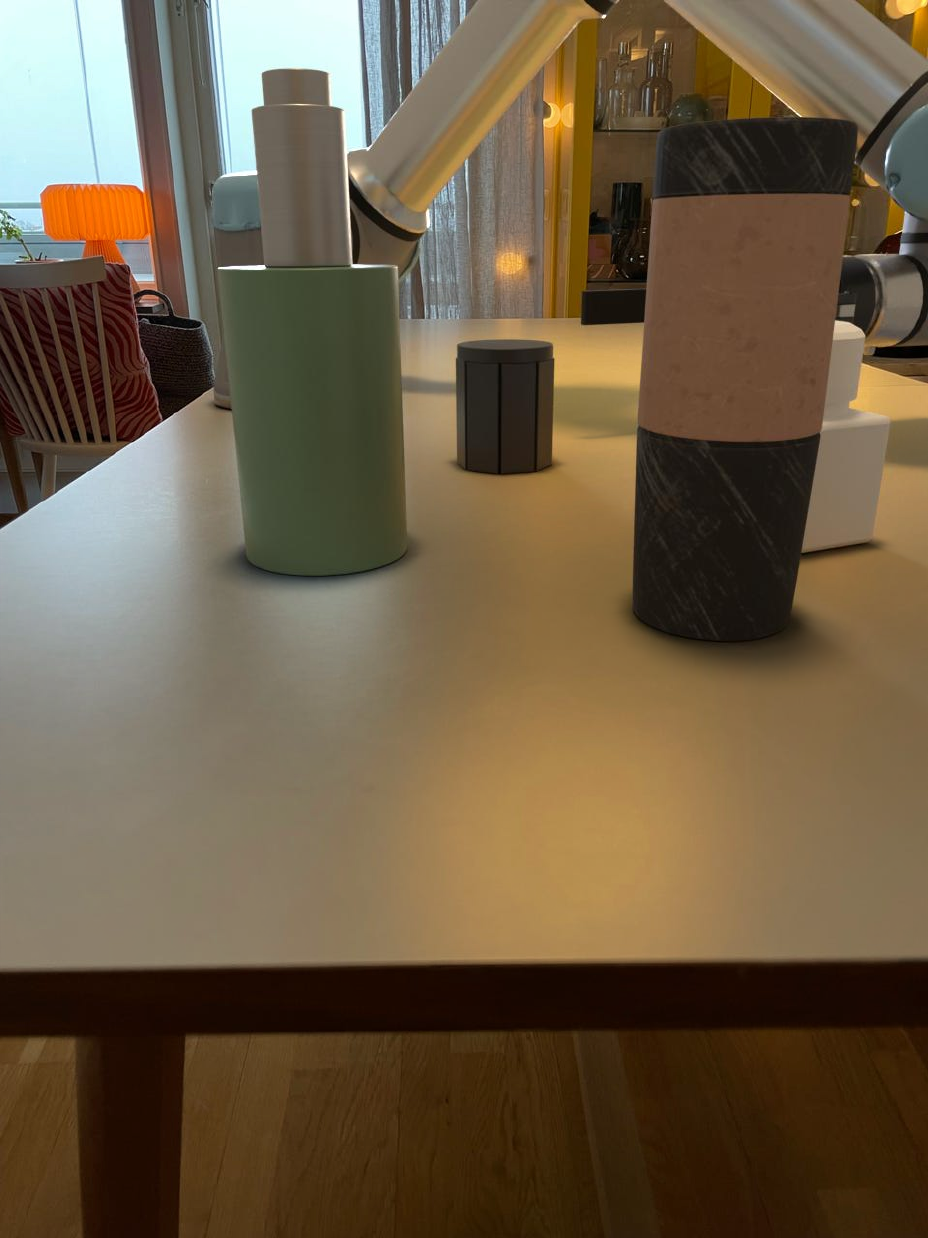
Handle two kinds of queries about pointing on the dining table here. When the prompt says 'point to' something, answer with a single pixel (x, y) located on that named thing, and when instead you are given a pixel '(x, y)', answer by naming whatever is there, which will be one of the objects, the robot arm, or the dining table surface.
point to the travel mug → (735, 367)
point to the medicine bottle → (846, 454)
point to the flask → (313, 354)
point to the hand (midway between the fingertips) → (622, 312)
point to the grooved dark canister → (504, 405)
